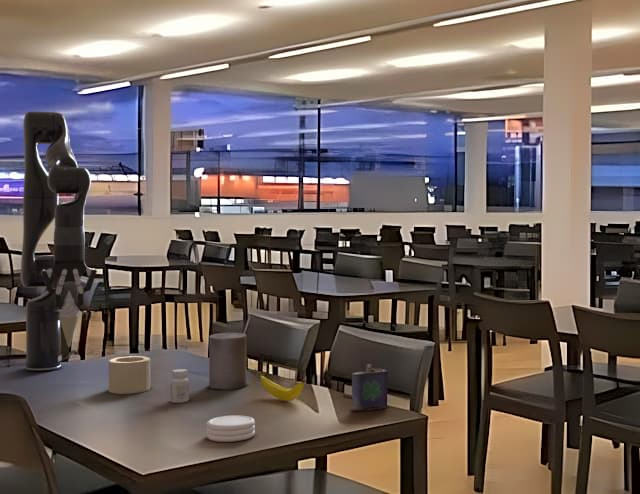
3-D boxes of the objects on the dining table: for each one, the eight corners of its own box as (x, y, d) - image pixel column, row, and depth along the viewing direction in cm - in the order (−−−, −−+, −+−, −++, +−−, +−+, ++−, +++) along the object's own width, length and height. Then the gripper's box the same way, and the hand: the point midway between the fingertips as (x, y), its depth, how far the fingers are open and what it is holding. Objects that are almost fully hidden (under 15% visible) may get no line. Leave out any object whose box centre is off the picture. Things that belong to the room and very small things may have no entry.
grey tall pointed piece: (83, 345, 254) (82, 289, 254) (73, 348, 249) (73, 291, 249) (65, 345, 254) (64, 288, 254) (54, 348, 249) (54, 291, 249)
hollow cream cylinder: (106, 388, 253) (106, 357, 253) (146, 384, 258) (146, 355, 258) (111, 395, 244) (111, 364, 244) (153, 391, 249) (153, 360, 249)
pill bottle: (192, 400, 239) (192, 369, 239) (181, 403, 235) (181, 372, 235) (177, 398, 240) (177, 368, 240) (166, 402, 236) (166, 371, 236)
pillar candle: (242, 381, 262) (242, 327, 262) (249, 388, 254) (250, 331, 254) (205, 384, 258) (205, 329, 258) (212, 391, 250) (212, 333, 249)
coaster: (241, 428, 211) (241, 412, 211) (263, 437, 203) (263, 420, 203) (198, 435, 204) (198, 419, 204) (219, 445, 196) (219, 428, 196)
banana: (265, 393, 247) (265, 369, 247) (309, 405, 234) (309, 379, 234) (255, 395, 245) (255, 370, 245) (299, 407, 232) (299, 380, 232)
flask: (354, 412, 227) (354, 366, 226) (349, 409, 229) (349, 365, 229) (389, 407, 231) (389, 363, 231) (384, 405, 234) (384, 361, 234)
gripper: (96, 241, 258) (96, 305, 258) (38, 242, 251) (38, 308, 252) (99, 243, 251) (99, 308, 252) (40, 244, 245) (40, 311, 245)
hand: (69, 307), depth 252 cm, fingers closed on grey tall pointed piece, 4 cm apart
